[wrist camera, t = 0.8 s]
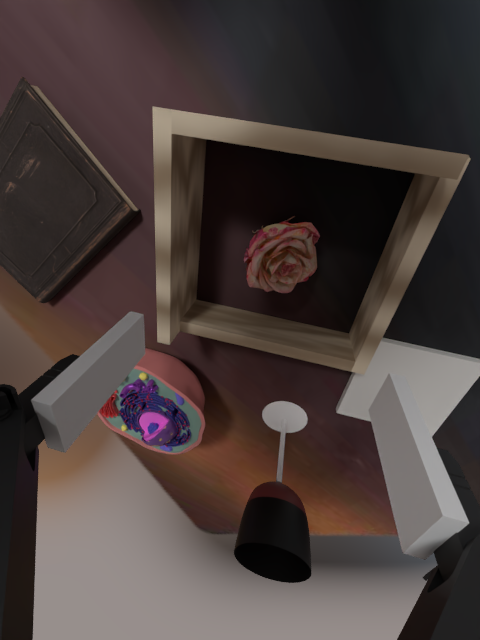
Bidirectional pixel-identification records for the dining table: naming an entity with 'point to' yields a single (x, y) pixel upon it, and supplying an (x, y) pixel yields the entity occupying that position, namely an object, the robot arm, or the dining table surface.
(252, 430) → the dining table surface
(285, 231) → the flower
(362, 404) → the tile
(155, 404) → the cell model
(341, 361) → the frame
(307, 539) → the wineglass
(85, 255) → the hardcover book
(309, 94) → the dining table surface
